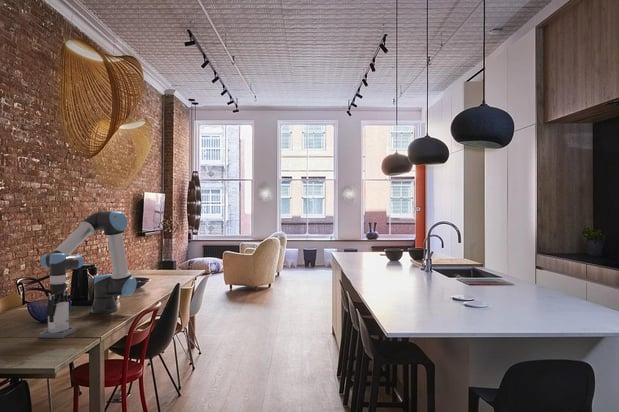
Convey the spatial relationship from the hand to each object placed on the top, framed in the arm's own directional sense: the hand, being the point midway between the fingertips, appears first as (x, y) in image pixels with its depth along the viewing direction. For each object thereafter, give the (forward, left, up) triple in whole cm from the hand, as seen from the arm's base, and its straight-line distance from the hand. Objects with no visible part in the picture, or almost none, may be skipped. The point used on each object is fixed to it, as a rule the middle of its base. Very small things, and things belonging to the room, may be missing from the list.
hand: (58, 325), depth 248 cm
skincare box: (0, 0, -3) cm, 3 cm away
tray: (0, 0, -5) cm, 5 cm away
